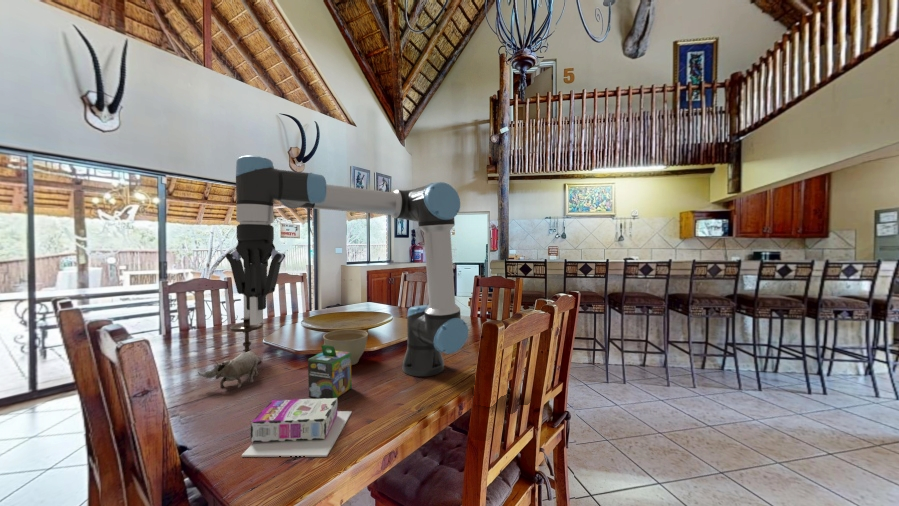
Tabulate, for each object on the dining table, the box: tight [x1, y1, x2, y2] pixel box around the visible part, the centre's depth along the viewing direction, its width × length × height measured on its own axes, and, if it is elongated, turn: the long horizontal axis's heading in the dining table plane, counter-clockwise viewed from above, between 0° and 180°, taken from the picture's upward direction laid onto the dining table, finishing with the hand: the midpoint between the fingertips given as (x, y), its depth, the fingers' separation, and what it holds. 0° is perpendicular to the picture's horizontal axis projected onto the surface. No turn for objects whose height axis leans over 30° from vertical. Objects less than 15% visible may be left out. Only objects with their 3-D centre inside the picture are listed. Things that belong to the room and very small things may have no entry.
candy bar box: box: [250, 398, 338, 444], centre depth 78 cm, size 11×5×16 cm
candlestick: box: [228, 295, 264, 364], centre depth 121 cm, size 11×11×35 cm
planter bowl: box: [322, 328, 369, 366], centre depth 123 cm, size 16×16×11 cm
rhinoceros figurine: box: [197, 350, 259, 388], centre depth 104 cm, size 8×14×15 cm
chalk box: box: [307, 344, 353, 399], centre depth 98 cm, size 9×9×15 cm
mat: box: [241, 410, 353, 458], centre depth 77 cm, size 18×18×1 cm
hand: (256, 323), depth 77 cm, fingers closed
